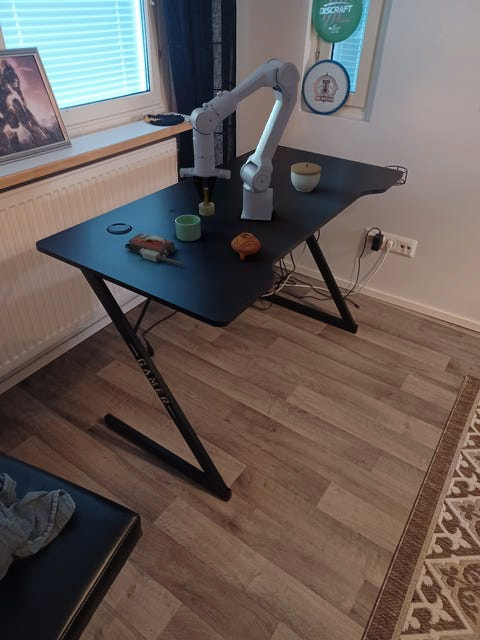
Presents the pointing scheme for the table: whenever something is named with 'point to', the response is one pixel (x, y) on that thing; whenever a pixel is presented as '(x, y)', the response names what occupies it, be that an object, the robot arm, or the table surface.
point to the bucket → (188, 227)
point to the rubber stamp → (206, 204)
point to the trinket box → (305, 176)
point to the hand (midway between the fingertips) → (206, 200)
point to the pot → (245, 244)
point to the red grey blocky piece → (152, 248)
